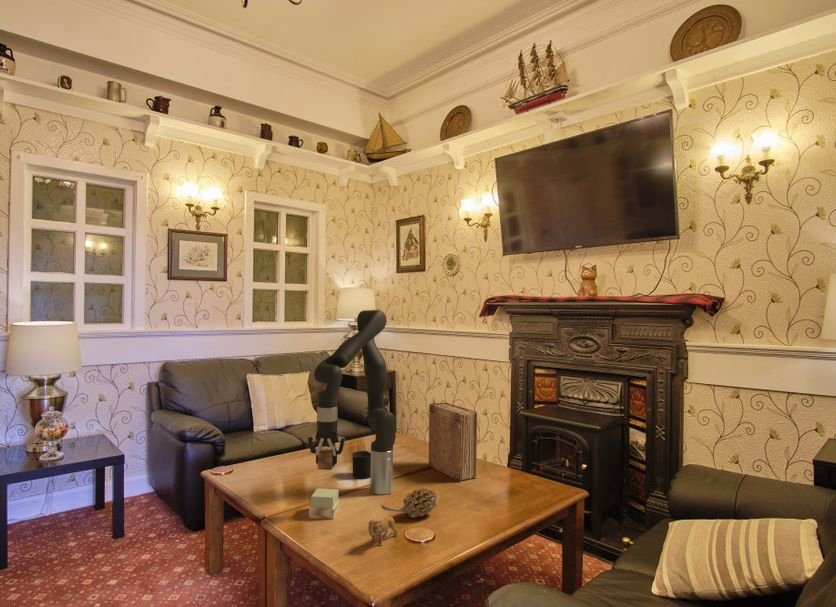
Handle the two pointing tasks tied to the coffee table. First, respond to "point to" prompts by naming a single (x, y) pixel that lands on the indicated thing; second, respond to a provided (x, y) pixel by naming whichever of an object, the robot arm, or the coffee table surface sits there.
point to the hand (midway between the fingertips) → (326, 464)
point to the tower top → (324, 498)
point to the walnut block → (325, 459)
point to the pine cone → (417, 503)
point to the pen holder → (361, 464)
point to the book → (453, 440)
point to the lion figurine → (381, 529)
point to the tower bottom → (324, 512)
